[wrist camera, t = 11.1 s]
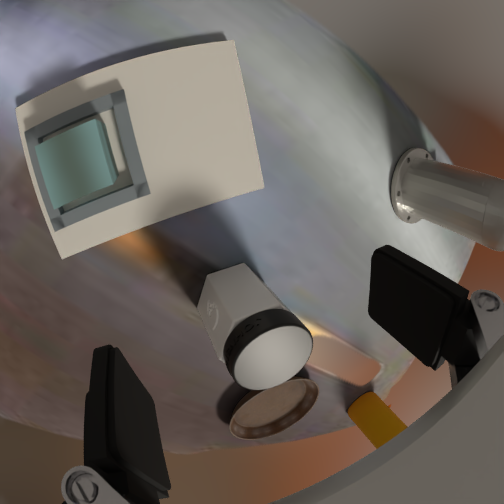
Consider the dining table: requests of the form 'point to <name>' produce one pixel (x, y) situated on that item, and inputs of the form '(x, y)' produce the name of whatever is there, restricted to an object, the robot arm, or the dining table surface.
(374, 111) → the dining table surface
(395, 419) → the beer bottle
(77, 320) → the dining table surface
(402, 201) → the robot arm
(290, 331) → the jar
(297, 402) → the plant saucer
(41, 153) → the teal block
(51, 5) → the dining table surface
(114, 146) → the board
